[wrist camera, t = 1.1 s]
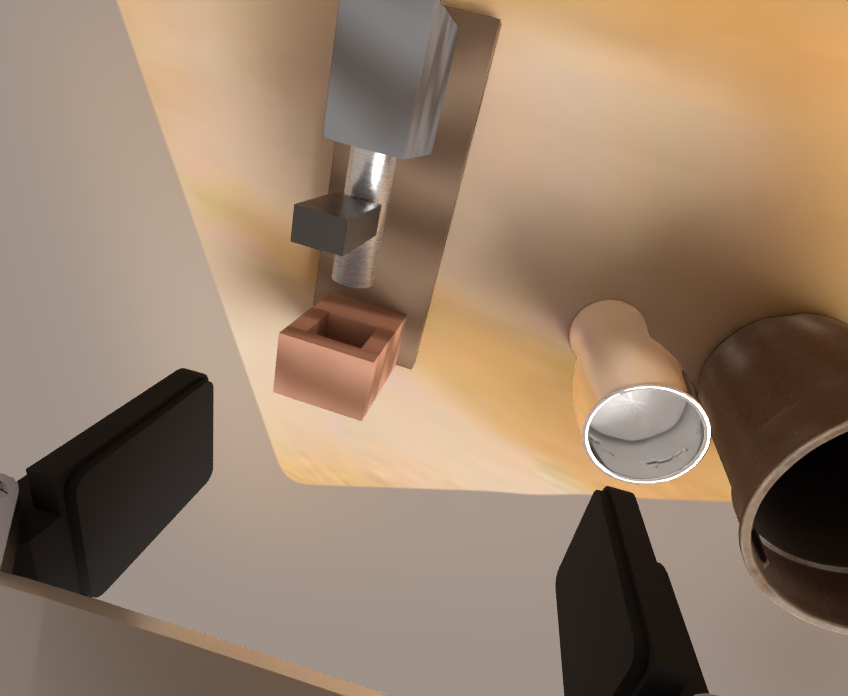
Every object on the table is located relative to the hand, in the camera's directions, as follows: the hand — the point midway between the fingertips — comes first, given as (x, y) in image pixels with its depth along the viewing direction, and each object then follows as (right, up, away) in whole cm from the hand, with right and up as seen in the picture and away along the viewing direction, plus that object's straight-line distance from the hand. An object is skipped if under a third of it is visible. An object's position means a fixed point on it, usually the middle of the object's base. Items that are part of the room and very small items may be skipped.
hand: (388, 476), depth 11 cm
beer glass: (+16, +4, +28) cm, 33 cm away
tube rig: (-2, +15, +27) cm, 31 cm away
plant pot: (+29, 0, +27) cm, 40 cm away
